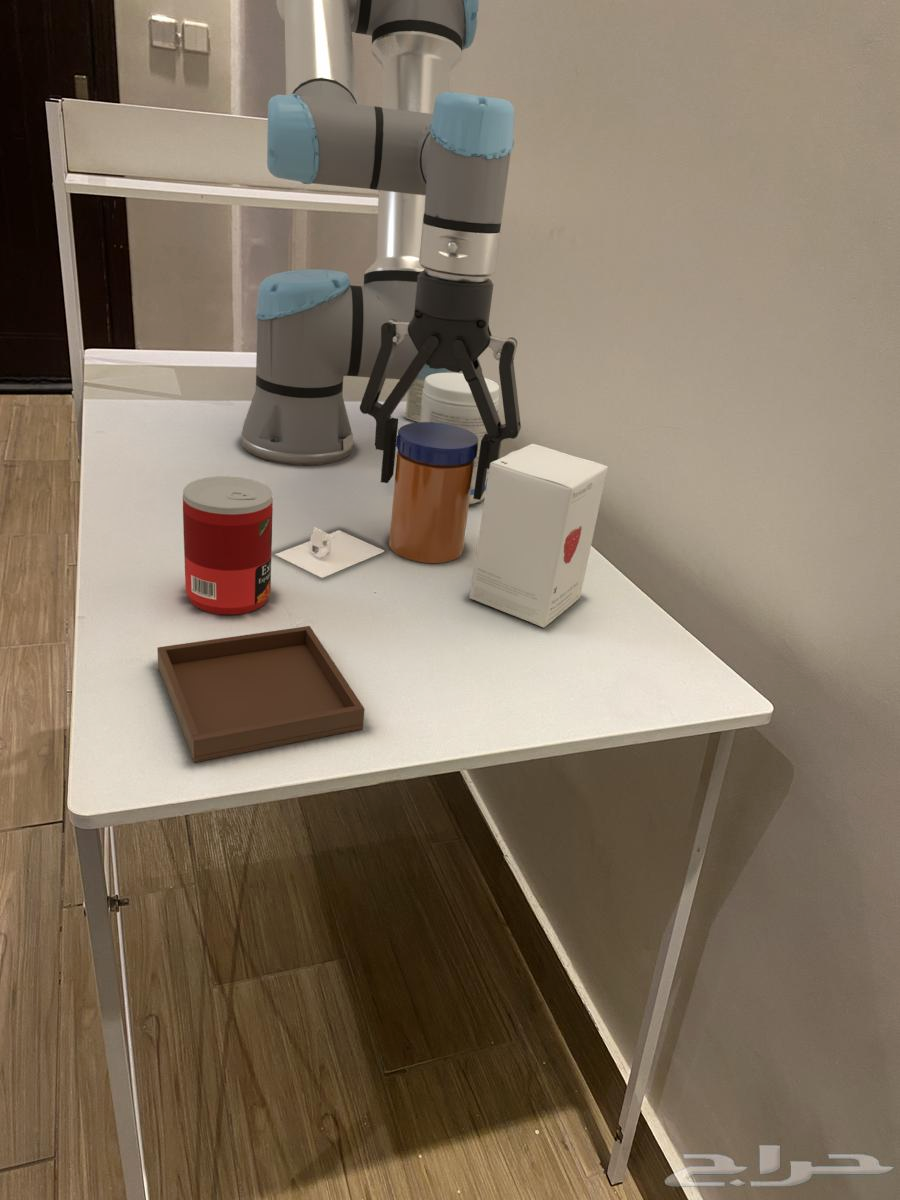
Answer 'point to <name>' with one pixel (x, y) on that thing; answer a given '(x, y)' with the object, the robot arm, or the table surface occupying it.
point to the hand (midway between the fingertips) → (432, 486)
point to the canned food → (227, 544)
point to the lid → (437, 443)
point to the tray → (256, 692)
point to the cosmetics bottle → (415, 400)
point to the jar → (429, 510)
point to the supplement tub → (456, 409)
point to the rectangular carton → (536, 532)
